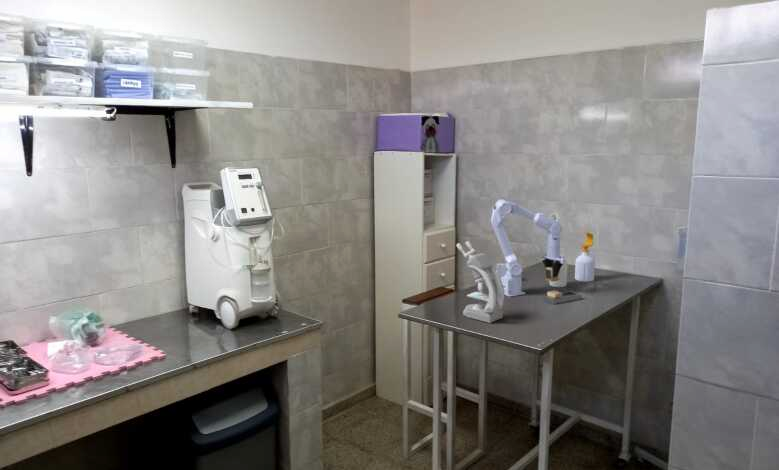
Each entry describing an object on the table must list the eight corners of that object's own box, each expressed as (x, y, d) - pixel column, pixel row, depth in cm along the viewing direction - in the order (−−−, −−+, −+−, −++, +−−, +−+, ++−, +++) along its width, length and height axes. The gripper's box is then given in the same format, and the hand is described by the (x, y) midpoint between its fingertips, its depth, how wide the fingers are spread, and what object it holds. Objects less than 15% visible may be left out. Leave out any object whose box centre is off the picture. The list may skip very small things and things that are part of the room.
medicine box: (511, 280, 283) (512, 263, 281) (512, 282, 278) (513, 265, 277) (496, 279, 284) (496, 263, 282) (496, 282, 279) (497, 265, 278)
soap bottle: (571, 278, 283) (572, 231, 278) (584, 276, 286) (586, 229, 282) (583, 282, 274) (585, 233, 270) (597, 280, 278) (600, 232, 274)
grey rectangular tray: (553, 304, 241) (553, 299, 240) (543, 300, 247) (543, 295, 246) (581, 299, 248) (581, 294, 247) (570, 295, 254) (570, 290, 253)
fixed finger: (554, 301, 242) (555, 294, 242) (547, 298, 246) (547, 291, 246) (562, 299, 244) (562, 293, 244) (554, 296, 248) (555, 290, 248)
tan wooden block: (550, 281, 255) (550, 268, 254) (545, 280, 258) (545, 267, 257) (559, 280, 257) (559, 267, 256) (554, 278, 260) (554, 266, 259)
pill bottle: (568, 287, 266) (569, 257, 264) (552, 287, 267) (552, 257, 264) (564, 283, 274) (565, 253, 272) (547, 283, 275) (548, 253, 272)
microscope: (469, 308, 238) (469, 239, 232) (506, 318, 224) (507, 245, 219) (453, 314, 230) (452, 243, 225) (490, 324, 217) (491, 249, 212)
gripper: (571, 248, 250) (570, 278, 253) (549, 243, 263) (548, 271, 265) (559, 250, 247) (558, 280, 250) (537, 245, 260) (536, 273, 262)
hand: (552, 275), depth 257 cm, fingers closed on tan wooden block, 3 cm apart
